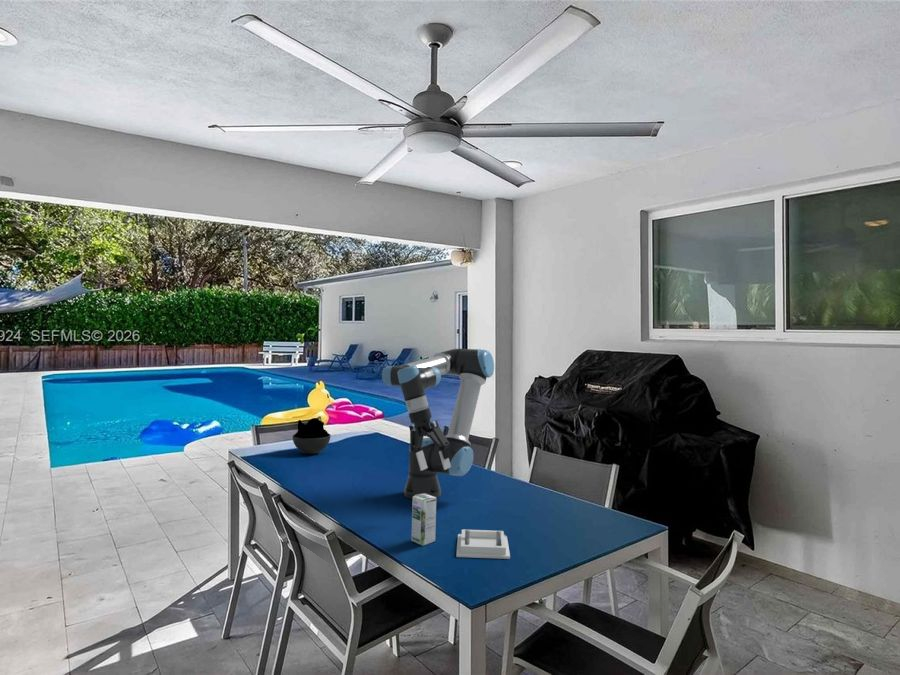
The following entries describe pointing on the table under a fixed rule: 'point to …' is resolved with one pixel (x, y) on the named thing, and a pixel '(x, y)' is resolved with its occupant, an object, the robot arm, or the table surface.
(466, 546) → the tray
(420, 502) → the syrup box
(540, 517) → the table surface
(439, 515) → the table surface
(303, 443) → the coal bowl
